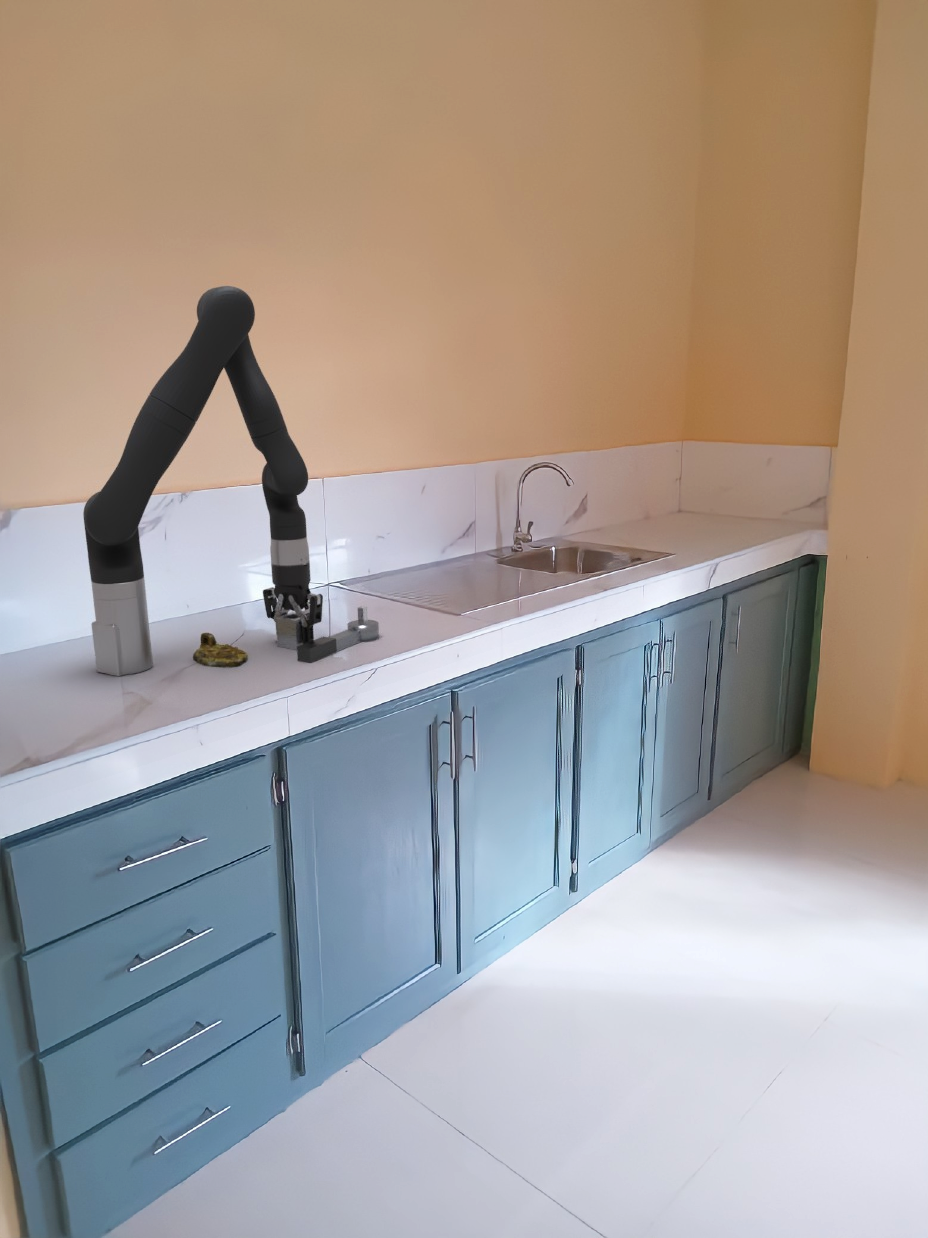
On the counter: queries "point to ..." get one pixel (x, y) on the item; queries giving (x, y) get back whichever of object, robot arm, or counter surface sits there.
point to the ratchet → (340, 638)
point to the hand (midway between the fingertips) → (295, 641)
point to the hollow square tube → (289, 631)
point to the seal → (218, 653)
